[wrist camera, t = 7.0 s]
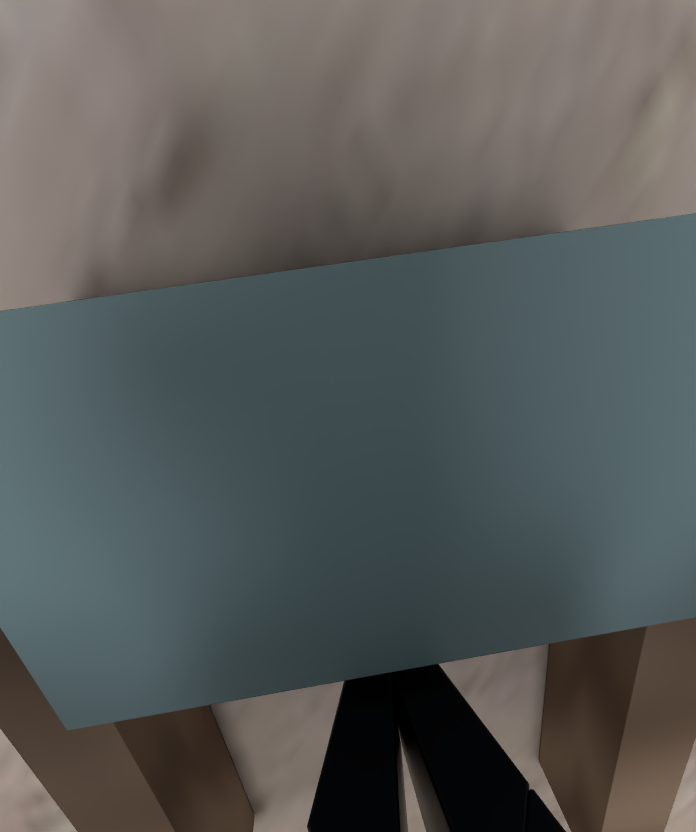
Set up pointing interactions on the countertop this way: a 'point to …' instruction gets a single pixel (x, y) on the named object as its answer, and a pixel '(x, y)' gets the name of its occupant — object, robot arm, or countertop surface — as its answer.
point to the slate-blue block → (348, 468)
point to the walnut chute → (227, 802)
